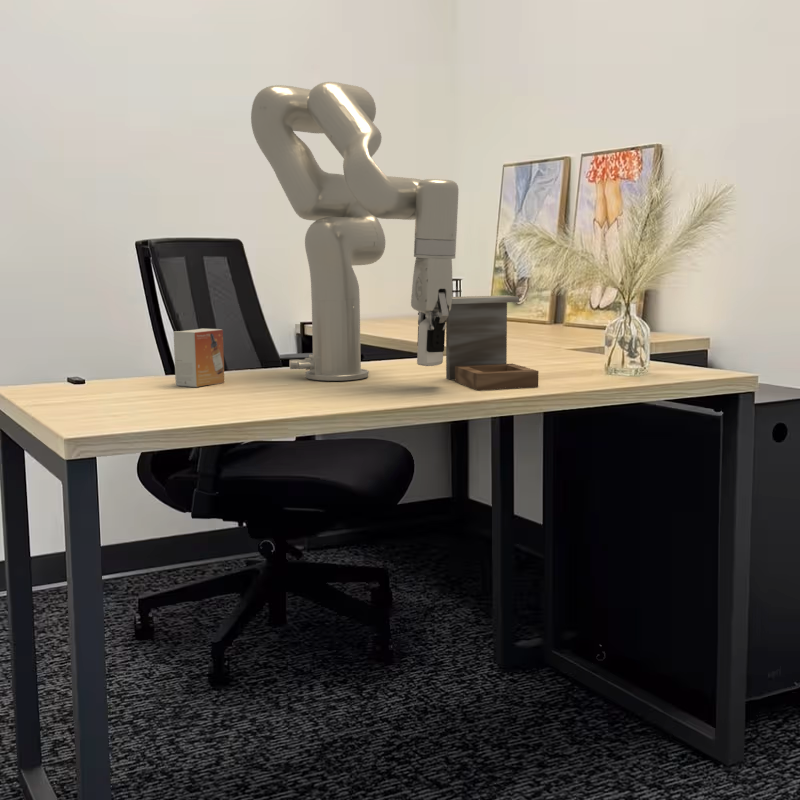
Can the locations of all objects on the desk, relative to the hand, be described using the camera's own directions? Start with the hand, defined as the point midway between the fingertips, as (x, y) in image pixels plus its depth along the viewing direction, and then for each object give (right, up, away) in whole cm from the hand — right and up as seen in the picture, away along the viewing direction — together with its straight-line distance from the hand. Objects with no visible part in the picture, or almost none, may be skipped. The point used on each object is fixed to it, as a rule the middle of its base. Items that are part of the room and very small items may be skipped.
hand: (430, 348), depth 178 cm
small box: (-44, -7, +8) cm, 45 cm away
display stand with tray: (+12, -6, +7) cm, 15 cm away
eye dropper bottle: (0, -3, +1) cm, 3 cm away
